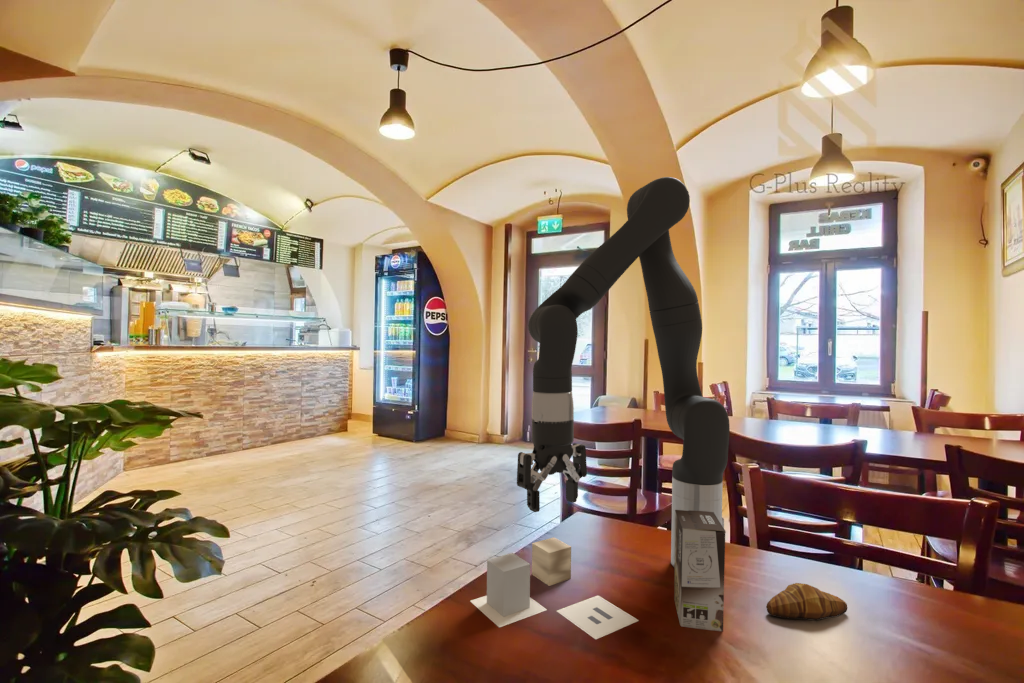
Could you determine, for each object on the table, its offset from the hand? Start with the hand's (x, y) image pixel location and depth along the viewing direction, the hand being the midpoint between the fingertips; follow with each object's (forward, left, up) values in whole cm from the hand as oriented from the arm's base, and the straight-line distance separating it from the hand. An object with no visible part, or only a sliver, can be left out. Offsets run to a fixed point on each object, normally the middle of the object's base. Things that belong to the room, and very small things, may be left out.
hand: (553, 506), depth 92 cm
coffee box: (-12, +22, -14) cm, 29 cm away
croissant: (-29, +30, -14) cm, 44 cm away
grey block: (+12, +4, -13) cm, 18 cm away
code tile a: (+2, +14, -14) cm, 20 cm away
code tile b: (+12, +4, -14) cm, 19 cm away
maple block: (0, 0, -14) cm, 14 cm away
